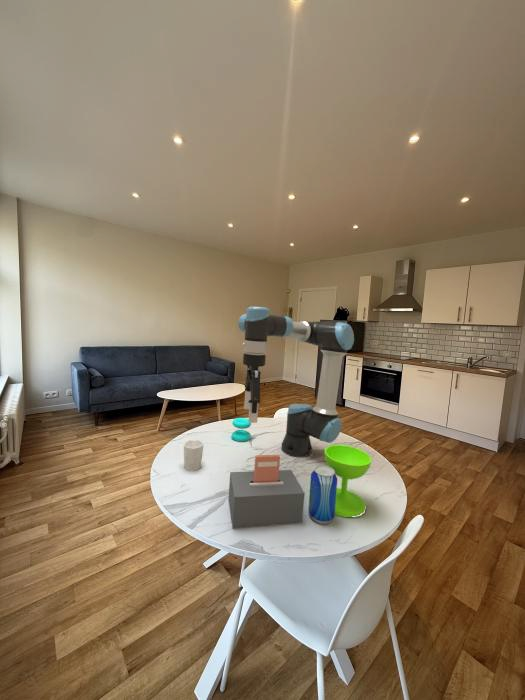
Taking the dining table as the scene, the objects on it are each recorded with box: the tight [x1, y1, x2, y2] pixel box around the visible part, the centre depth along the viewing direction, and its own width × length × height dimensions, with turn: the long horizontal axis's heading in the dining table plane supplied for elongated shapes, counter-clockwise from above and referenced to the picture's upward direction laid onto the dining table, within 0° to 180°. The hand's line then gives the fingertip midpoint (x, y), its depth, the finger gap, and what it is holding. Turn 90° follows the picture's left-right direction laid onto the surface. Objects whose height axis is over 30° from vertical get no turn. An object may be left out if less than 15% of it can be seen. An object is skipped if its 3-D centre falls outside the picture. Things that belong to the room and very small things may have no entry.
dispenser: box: [228, 469, 305, 529], centre depth 94 cm, size 22×14×11 cm, turn 102°
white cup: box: [183, 439, 204, 472], centre depth 118 cm, size 8×8×10 cm
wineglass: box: [323, 444, 372, 518], centre depth 101 cm, size 16×16×18 cm
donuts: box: [231, 417, 252, 442], centre depth 150 cm, size 10×10×10 cm
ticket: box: [253, 454, 281, 483], centre depth 93 cm, size 8×1×12 cm, turn 102°
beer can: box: [308, 464, 338, 525], centre depth 92 cm, size 8×8×16 cm
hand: (250, 415), depth 97 cm, fingers open, 13 cm apart
